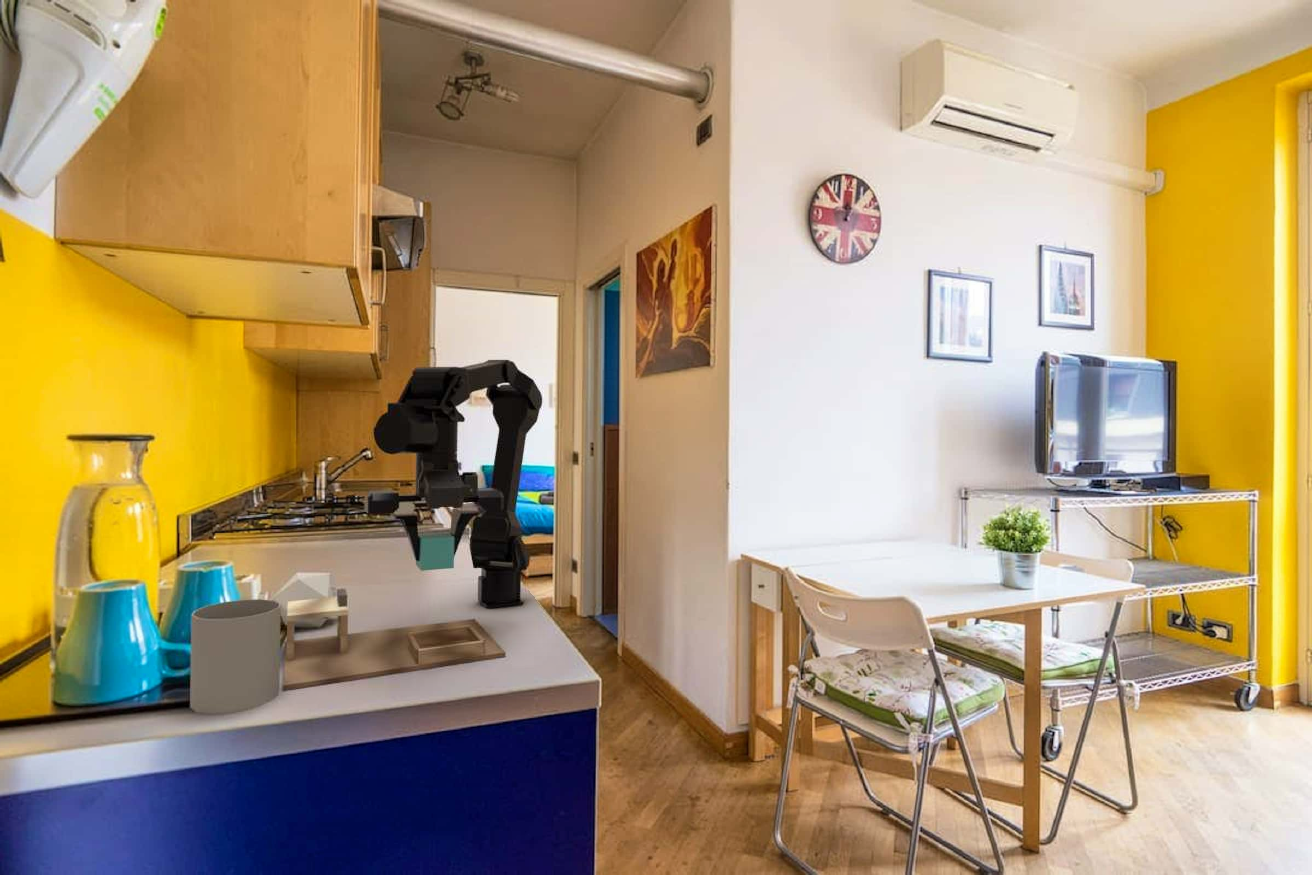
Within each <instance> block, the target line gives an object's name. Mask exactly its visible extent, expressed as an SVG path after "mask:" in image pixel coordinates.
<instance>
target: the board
mask: <svg viewBox="0 0 1312 875" xmlns="http://www.w3.org/2000/svg"><path fill="white" fill-rule="evenodd" d="M283 654H284V656H283V682H282V687H283V688H282V691H283V692H284V691H289V690H296V689H303V688H308V687H309V688H310V687H316V686H322V685H328V684H329V685H330V684H335V683H341V682H342V683H343V682H348V681H355V680H361V679H367V678H368V679H369V678H374V677H375V678H376V677H381V676H388V675H394V674H401V673H406V672H407V673H408V672H412V671H413V672H414V671H418V670H419V671H420V670H426V669H432V668H440V667H445V666H446V667H447V666H452V665H460V664H466V663H472V662H478V661H479V662H481V661H484V660H485V661H486V660H492V659H497V658H499V659H500V658H505V657H506V651H505V650H504V649H503V647H501V645H499V644H498V642H497V641H496V640H495V639H494V638H493V637H492V636H491V635H490V634H489V633H488V632H487V631H486V630H485V628H484V627H482V625H480V623H479V622H478V621H477V620H476V619H475V618H469V619H463V620H462V619H461V620H455V621H454V620H453V621H445V622H438V623H430V624H420V625H413V626H406V627H398V628H397V627H396V628H395V627H394V628H388V629H379V630H373V631H372V630H371V631H362V632H357V633H356V632H355V633H348V644H347V652H346V653H341V652H340V638H337V635H331V636H323V637H322V636H321V637H314V638H306V639H296V640H294V660H287V641H284V653H283Z"/></svg>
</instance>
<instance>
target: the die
mask: <svg viewBox="0 0 1312 875" xmlns="http://www.w3.org/2000/svg"><path fill="white" fill-rule="evenodd" d="M337 589H338V588H337V586H336V584H335V582H334V580H333V577H332V575H331V572H296V573H295V574H294V575H293V576H292V577H291V578H290V579H289V580H288V581H287V582H286V583H285V584H284V585H283V586H282V587H281V588H280V589H279V590H278V592H276V593H275V594H274V595H273V597H272V599H273V600H274V601H276V602H279V603H281V615H280V618H282V621H283V623H284V626H285V625H287V611H288V602H289V601H299V600H310V599H320V598H330V597H337ZM328 619H329V617H322V618H313V619H304V620H295V621H294V628H321V627H322V626H323V624H324V623H325V622H326V621H327V620H328Z"/></svg>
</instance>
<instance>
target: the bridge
mask: <svg viewBox="0 0 1312 875" xmlns="http://www.w3.org/2000/svg"><path fill="white" fill-rule="evenodd" d="M336 589H337V597H330V598H320V599H310V600H299V601H289V602H288V611H287V627H286V642H287V660H294V641H295V627H294V621H295V620H304V619H313V618H322V617H328V618H330V617H337V621H336V622H337V623H336V624H337V625H336V626H337V631H336V632H337V633H336V634H337V635H336V636H337V638H340V652H341V653H346V652H347V644H348V634H349V630H348V629H349V628H348V627H349V608H348V594H347V590H346V588H336Z"/></svg>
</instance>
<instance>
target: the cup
mask: <svg viewBox="0 0 1312 875" xmlns="http://www.w3.org/2000/svg"><path fill="white" fill-rule="evenodd" d="M190 617H191V622H190V626H191V627H190V678H189V679H190V682H189V683H190V684H189V685H190V686H189V689H190V690H189V693H190V694H189V696H190V697H189V708H190V710H192V711H193V712H195V713H196V714H205V715H221V714H232V713H237V712H241V711H245V710H251V709H254V708H256V707H259V706H261V705H264V704H267V703H269V702H270V701H272V700H273V699H275V698H276V697H278V696H279V693H280V672H281V669H280V668H281V667H280V666H281V665H280V664H281V663H280V662H281V657H280V656H281V603H279V602H276V601H274V599H273V600H271V599H261V598H260V599H259V598H258V599H256V598H255V599H239V600H231V601H223V602H218V603H213V604H210V605H209V604H208V605H205V606H203V607H200V608H198V609H196V610H193V612H192V613H191V616H190Z"/></svg>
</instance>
